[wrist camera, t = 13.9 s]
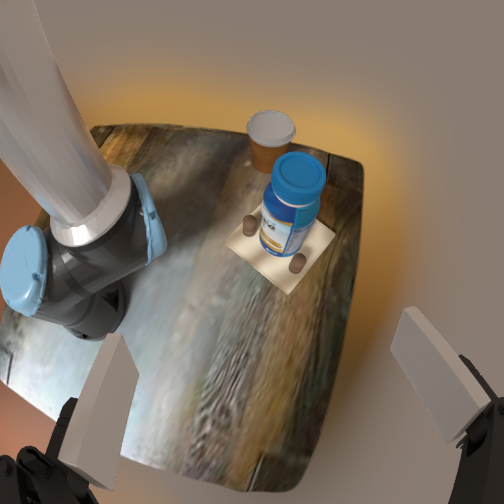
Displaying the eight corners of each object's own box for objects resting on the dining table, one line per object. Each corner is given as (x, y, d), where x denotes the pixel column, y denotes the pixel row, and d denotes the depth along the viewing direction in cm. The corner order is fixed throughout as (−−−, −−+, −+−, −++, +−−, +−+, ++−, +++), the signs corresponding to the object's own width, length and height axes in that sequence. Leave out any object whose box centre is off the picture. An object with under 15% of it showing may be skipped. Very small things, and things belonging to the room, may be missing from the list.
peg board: (225, 243, 51) (223, 230, 46) (275, 193, 56) (277, 177, 50) (287, 295, 48) (293, 287, 43) (333, 237, 52) (342, 225, 47)
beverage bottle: (303, 261, 49) (337, 202, 30) (256, 257, 49) (264, 195, 30) (303, 219, 52) (330, 149, 33) (259, 216, 52) (267, 142, 33)
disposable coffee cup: (292, 178, 57) (301, 139, 46) (248, 180, 57) (249, 141, 45) (284, 146, 61) (290, 108, 49) (243, 148, 60) (244, 109, 49)
